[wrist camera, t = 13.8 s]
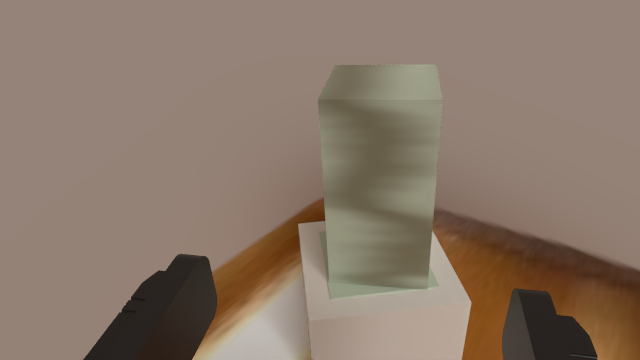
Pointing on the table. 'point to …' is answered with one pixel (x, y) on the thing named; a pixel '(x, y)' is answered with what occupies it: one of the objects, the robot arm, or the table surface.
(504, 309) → the table surface
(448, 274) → the cream base block
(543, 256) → the table surface
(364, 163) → the sage pillar
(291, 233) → the table surface
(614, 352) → the table surface
